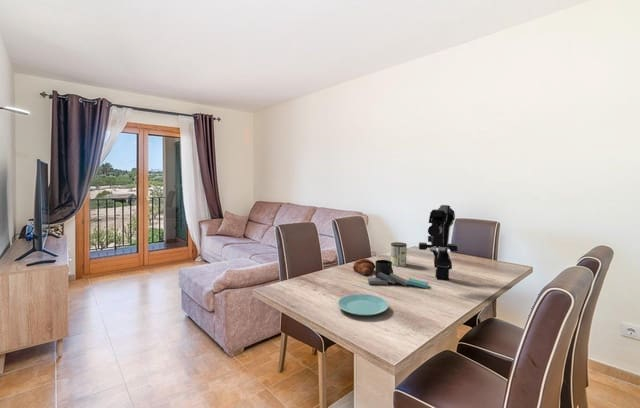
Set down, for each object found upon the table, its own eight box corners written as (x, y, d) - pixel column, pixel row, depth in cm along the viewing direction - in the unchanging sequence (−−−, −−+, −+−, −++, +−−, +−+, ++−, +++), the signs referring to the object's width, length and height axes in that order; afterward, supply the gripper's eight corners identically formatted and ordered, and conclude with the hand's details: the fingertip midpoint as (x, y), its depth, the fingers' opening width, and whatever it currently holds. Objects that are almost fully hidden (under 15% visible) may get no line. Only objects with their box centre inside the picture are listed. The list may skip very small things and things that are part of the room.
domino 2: (397, 280, 169) (380, 271, 173) (395, 281, 164) (378, 272, 169) (396, 282, 169) (379, 274, 173) (394, 284, 164) (377, 275, 169)
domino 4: (408, 281, 167) (391, 272, 171) (407, 283, 163) (389, 274, 167) (407, 283, 167) (390, 275, 171) (405, 286, 163) (388, 277, 167)
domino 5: (428, 282, 164) (408, 277, 167) (427, 285, 160) (408, 280, 163) (427, 285, 164) (408, 280, 168) (427, 288, 160) (407, 283, 163)
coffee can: (395, 261, 214) (395, 241, 213) (409, 264, 207) (409, 243, 206) (387, 264, 206) (387, 243, 205) (401, 267, 199) (401, 246, 198)
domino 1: (386, 278, 170) (367, 277, 170) (387, 281, 165) (368, 280, 165) (386, 281, 170) (367, 280, 170) (387, 284, 165) (368, 283, 165)
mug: (386, 281, 171) (387, 265, 170) (371, 276, 181) (372, 261, 180) (398, 278, 176) (398, 263, 175) (383, 273, 186) (383, 258, 185)
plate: (353, 324, 120) (353, 317, 120) (329, 303, 141) (329, 297, 140) (399, 314, 129) (399, 308, 129) (370, 296, 150) (370, 290, 149)
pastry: (345, 270, 193) (345, 257, 193) (361, 266, 203) (361, 254, 203) (365, 276, 181) (365, 263, 180) (381, 271, 190) (382, 259, 190)
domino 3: (388, 281, 170) (370, 279, 173) (387, 284, 165) (369, 282, 168) (388, 284, 170) (370, 282, 173) (387, 287, 165) (369, 285, 168)
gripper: (454, 231, 166) (453, 259, 167) (418, 230, 171) (417, 257, 172) (458, 235, 155) (457, 265, 157) (419, 233, 160) (418, 263, 161)
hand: (437, 262), depth 162 cm, fingers closed
